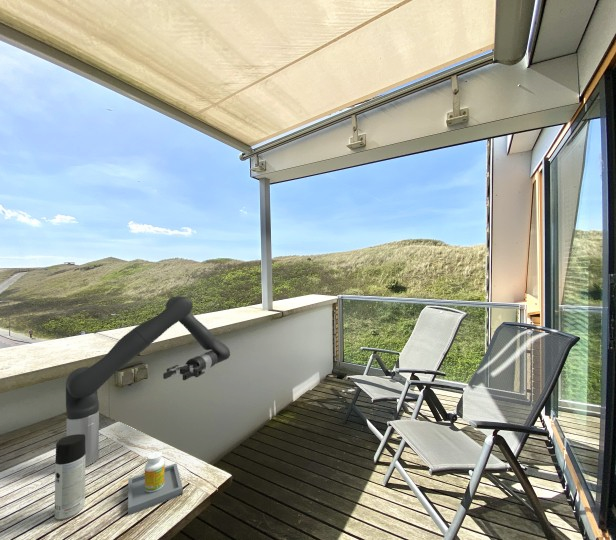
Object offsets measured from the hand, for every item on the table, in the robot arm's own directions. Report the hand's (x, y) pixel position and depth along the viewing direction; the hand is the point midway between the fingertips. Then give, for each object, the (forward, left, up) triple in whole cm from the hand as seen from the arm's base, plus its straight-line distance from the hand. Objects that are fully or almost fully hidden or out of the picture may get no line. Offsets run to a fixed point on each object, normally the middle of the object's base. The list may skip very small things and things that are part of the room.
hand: (173, 377), depth 110 cm
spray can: (-29, -15, -28) cm, 43 cm away
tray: (-8, -19, -28) cm, 35 cm away
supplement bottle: (-8, -18, -27) cm, 34 cm away
